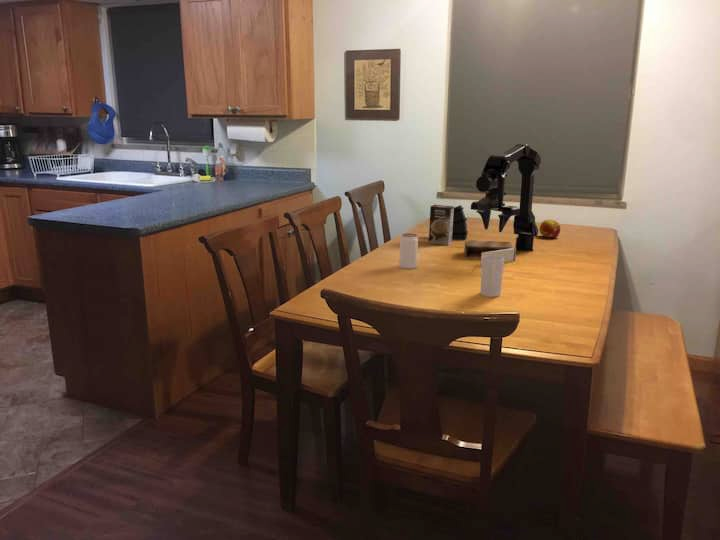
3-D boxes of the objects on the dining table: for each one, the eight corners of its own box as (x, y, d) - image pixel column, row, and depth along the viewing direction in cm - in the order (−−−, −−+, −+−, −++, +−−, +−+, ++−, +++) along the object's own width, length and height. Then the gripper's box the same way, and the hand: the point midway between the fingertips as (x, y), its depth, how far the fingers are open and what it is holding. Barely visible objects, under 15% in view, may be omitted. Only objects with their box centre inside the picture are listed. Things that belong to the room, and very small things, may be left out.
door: (513, 260, 236) (514, 247, 234) (517, 261, 234) (518, 248, 233) (480, 265, 227) (481, 252, 226) (484, 266, 225) (484, 253, 224)
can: (418, 265, 226) (420, 234, 223) (414, 269, 220) (415, 237, 217) (401, 263, 228) (403, 232, 225) (397, 268, 222) (398, 235, 219)
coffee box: (428, 243, 262) (429, 206, 258) (432, 240, 268) (433, 204, 264) (448, 245, 259) (450, 207, 255) (452, 242, 265) (454, 205, 261)
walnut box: (509, 254, 245) (510, 242, 244) (511, 260, 236) (512, 247, 235) (464, 251, 248) (465, 239, 247) (464, 257, 238) (465, 245, 237)
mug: (479, 290, 197) (481, 254, 194) (500, 291, 196) (503, 255, 193) (479, 299, 187) (482, 262, 184) (502, 301, 186) (505, 263, 183)
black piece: (472, 237, 267) (459, 205, 266) (445, 247, 274) (433, 216, 273) (474, 235, 271) (462, 204, 270) (447, 245, 277) (435, 214, 276)
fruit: (562, 239, 273) (564, 222, 271) (541, 239, 273) (543, 222, 271) (556, 235, 283) (557, 218, 280) (536, 235, 283) (538, 218, 281)
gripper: (462, 188, 228) (460, 229, 232) (504, 194, 214) (500, 237, 218) (481, 186, 235) (478, 226, 239) (522, 191, 221) (518, 233, 226)
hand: (493, 230), depth 230 cm, fingers open, 6 cm apart
